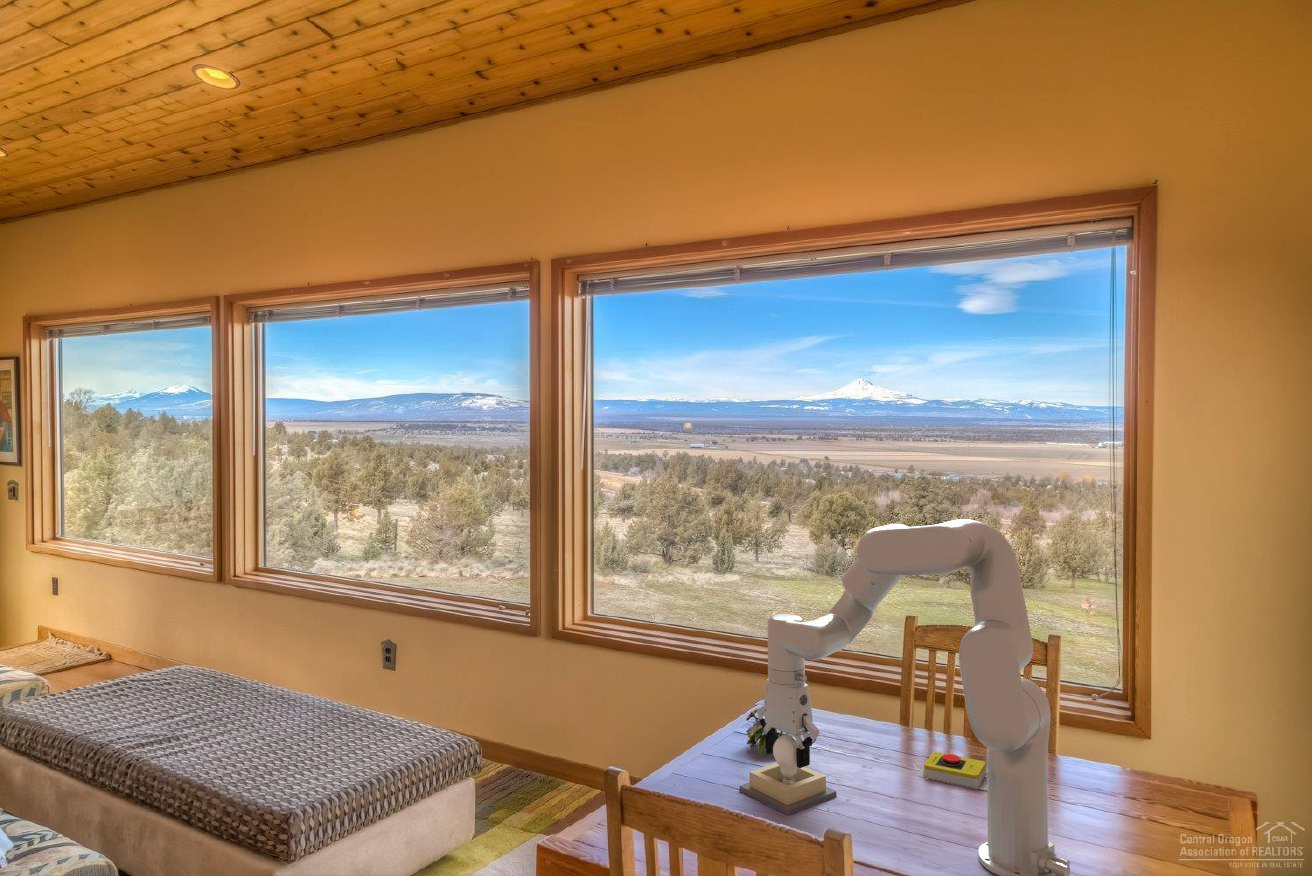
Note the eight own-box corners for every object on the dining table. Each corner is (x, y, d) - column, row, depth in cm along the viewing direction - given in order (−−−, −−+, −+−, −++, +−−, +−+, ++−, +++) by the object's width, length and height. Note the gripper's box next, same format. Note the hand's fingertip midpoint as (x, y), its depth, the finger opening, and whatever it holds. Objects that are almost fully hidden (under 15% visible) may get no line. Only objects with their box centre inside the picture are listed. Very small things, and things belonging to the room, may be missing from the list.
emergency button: (926, 744, 186) (997, 758, 178) (926, 764, 186) (997, 778, 178) (915, 758, 178) (988, 773, 170) (915, 778, 178) (989, 794, 170)
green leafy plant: (754, 768, 197) (751, 718, 204) (799, 764, 194) (794, 713, 201) (742, 756, 188) (739, 703, 195) (789, 751, 185) (784, 698, 192)
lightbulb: (768, 791, 169) (768, 738, 169) (779, 780, 175) (778, 728, 174) (798, 798, 166) (798, 743, 166) (808, 785, 172) (807, 733, 171)
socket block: (836, 796, 169) (836, 776, 169) (787, 815, 161) (787, 794, 161) (787, 773, 180) (787, 755, 180) (739, 790, 172) (739, 771, 172)
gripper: (830, 681, 166) (831, 768, 166) (770, 663, 180) (770, 743, 180) (804, 689, 161) (805, 778, 161) (744, 669, 175) (745, 751, 175)
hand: (787, 759), depth 170 cm, fingers open, 8 cm apart
